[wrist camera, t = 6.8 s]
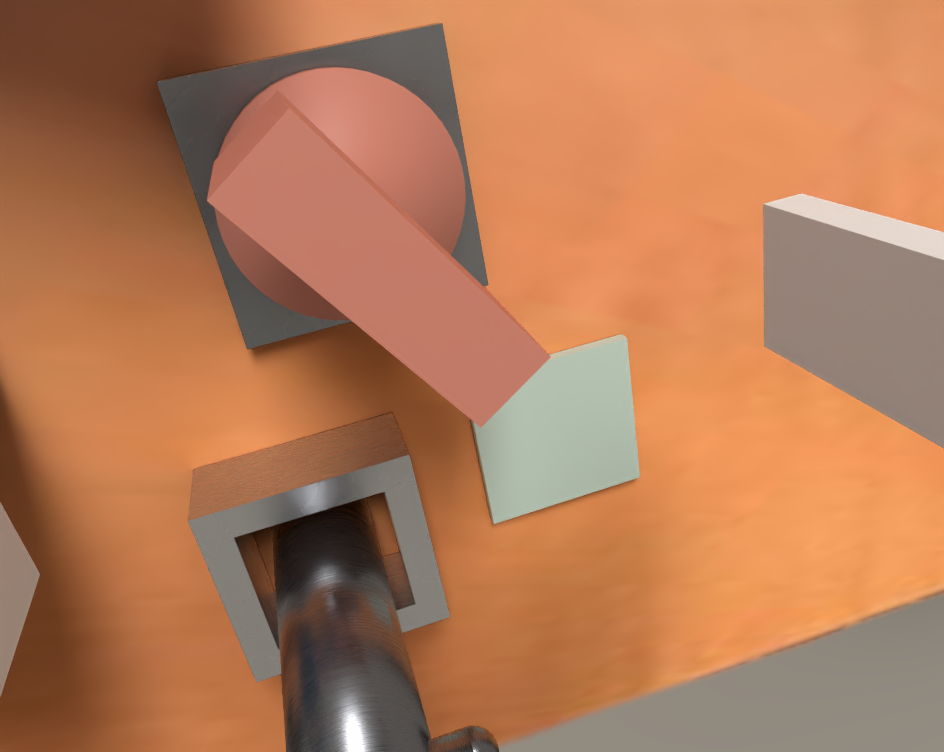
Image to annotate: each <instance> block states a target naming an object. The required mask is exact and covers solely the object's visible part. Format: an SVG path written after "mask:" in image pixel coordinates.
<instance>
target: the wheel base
mask: <svg viewBox="0 0 944 752" xmlns="http://www.w3.org/2000/svg"><path fill="white" fill-rule="evenodd" d="M324 67H343V68H353V69H358V70H363V71H367V72H370V73H373V74H376V75H379V76H382V77H384V78H387V79H390V80H392V81H393V82H395V83H397V84H399V85H401V86H403V87H405V88H406V89H408V90H409V91H410V92H412V93H413V94H415V95H416V96H417V97H419V98H420V99H421V100H422V101H423V102H424V103H425V104H426V105H427V106H428V107H429V108H430V109H431V110H432V111H433V112H434V113H435V115H436V116H437V117H438V118H439V119H440V121H441V122H442V123H443V125H444V127H445V128H446V130H447V131H448V133H449V135H450V136H451V138H452V141H453V143H454V145H455V147H456V149H457V152H458V155H459V158H460V162H461V165H462V169H463V175H464V180H465V196H466V200H465V213H464V218H463V223H462V228H461V231H460V234H459V237H458V240H457V243H456V245H455V248H454V250H453V252H452V254H451V256H452V257H453V258H454V259H455V260H456V261H457V262H458V263H459V264H460V265H461V266H463V267H464V268H465V269H466V270H467V271H468V272H469V273H470V274H471V275H472V276H473V277H474V278H475V279H476V280H477V281H478V282H479V283H480V284H481V285H482V286H487V285H488V280H487V275H486V269H485V263H484V258H483V252H482V246H481V240H480V235H479V229H478V223H477V218H476V212H475V206H474V201H473V195H472V189H471V184H470V178H469V172H468V167H467V161H466V155H465V150H464V144H463V138H462V133H461V127H460V121H459V116H458V110H457V104H456V99H455V93H454V87H453V82H452V76H451V70H450V65H449V59H448V53H447V48H446V42H445V36H444V31H443V25H442V23H436V24H430V25H426V26H421V27H416V28H411V29H406V30H401V31H396V32H391V33H387V34H382V35H377V36H372V37H367V38H362V39H357V40H352V41H348V42H343V43H338V44H333V45H328V46H323V47H318V48H313V49H309V50H304V51H299V52H294V53H289V54H284V55H279V56H274V57H270V58H265V59H260V60H255V61H250V62H245V63H240V64H236V65H231V66H226V67H221V68H216V69H211V70H206V71H201V72H197V73H192V74H187V75H182V76H177V77H172V78H167V79H162V80H159V81H157V85H158V88H159V91H160V94H161V97H162V100H163V103H164V105H165V108H166V111H167V114H168V117H169V120H170V123H171V126H172V129H173V132H174V135H175V138H176V141H177V144H178V147H179V150H180V153H181V156H182V159H183V161H184V164H185V167H186V170H187V173H188V176H189V179H190V182H191V185H192V188H193V191H194V194H195V197H196V200H197V203H198V206H199V209H200V212H201V215H202V217H203V220H204V223H205V226H206V229H207V232H208V235H209V238H210V241H211V244H212V247H213V250H214V253H215V256H216V259H217V262H218V265H219V268H220V270H221V273H222V276H223V279H224V282H225V285H226V288H227V291H228V294H229V297H230V300H231V303H232V306H233V309H234V312H235V315H236V318H237V321H238V324H239V326H240V329H241V332H242V335H243V338H244V341H245V344H246V347H247V349H250V348H254V347H258V346H261V345H265V344H269V343H273V342H276V341H280V340H284V339H288V338H291V337H295V336H299V335H303V334H306V333H310V332H314V331H318V330H321V329H325V328H329V327H333V326H336V325H340V324H344V323H348V322H351V320H327V319H319V318H315V317H310V316H306V315H303V314H300V313H298V312H295V311H292V310H290V309H288V308H286V307H284V306H282V305H280V304H278V303H276V302H275V301H273V300H272V299H270V298H269V297H267V296H266V295H265V294H263V293H262V292H261V291H260V290H258V289H257V288H256V287H255V286H254V285H253V284H252V283H251V282H250V281H249V280H248V279H247V278H246V277H245V275H244V274H243V273H242V272H241V271H240V270H239V268H238V267H237V265H236V264H235V262H234V261H233V259H232V258H231V256H230V254H229V252H228V250H227V248H226V246H225V244H224V242H223V239H222V236H221V233H220V230H219V227H218V224H217V219H216V214H215V208H214V206H212V205H211V204H210V203H209V202H208V201H207V197H208V191H209V186H210V180H211V175H212V170H213V164H214V161H215V160H216V159H217V158H218V156H219V152H220V149H221V146H222V144H223V141H224V139H225V136H226V134H227V132H228V130H229V129H230V127H231V125H232V123H233V121H234V120H235V119H236V117H237V116H238V115H239V113H240V112H241V111H242V109H243V108H244V107H245V106H246V105H247V104H248V103H249V102H250V101H251V100H252V99H253V98H254V97H255V96H256V95H257V94H259V93H260V92H261V91H263V90H264V89H266V88H267V87H268V86H270V85H271V84H273V83H275V82H277V81H279V80H281V79H283V78H284V77H287V76H290V75H292V74H295V73H298V72H301V71H305V70H310V69H315V68H324Z"/></svg>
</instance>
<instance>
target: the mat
mask: <svg viewBox="0 0 944 752" xmlns="http://www.w3.org/2000/svg"><path fill="white" fill-rule="evenodd" d="M550 356H551V357H550V359H549V360H548V361H547V362H546V363H545V364H544V365H543V366H542V367H541V368H540V369H539V370H538V371H537V372H536V373H535V374H534V375H533V376H532V377H531V378H530V379H529V380H528V381H527V382H526V383H525V384H524V385H523V386H522V387H521V388H520V389H519V390H518V391H517V392H516V393H515V394H514V395H513V396H512V397H511V398H510V399H509V400H508V401H507V402H506V403H505V404H504V405H503V406H502V407H501V408H500V409H499V410H498V411H497V412H496V413H495V414H494V415H493V416H492V417H491V418H490V419H489V420H488V421H487V422H486V423H485V424H484V425H483V426H482V427H479V426H478V425H477V424H476V423H474V422H473V421H472V420H471V424H472V429H473V434H474V439H475V443H476V448H477V453H478V458H479V463H480V468H481V473H482V478H483V483H484V487H485V492H486V497H487V502H488V507H489V512H490V517H491V519H492V521H493V523H494V524H496V523H499V522H502V521H505V520H508V519H511V518H514V517H518V516H521V515H524V514H527V513H530V512H533V511H536V510H539V509H543V508H546V507H549V506H552V505H555V504H558V503H561V502H564V501H567V500H571V499H574V498H577V497H580V496H583V495H586V494H589V493H592V492H596V491H599V490H602V489H605V488H608V487H611V486H614V485H617V484H621V483H624V482H627V481H630V480H633V479H636V478H639V477H640V473H639V462H638V451H637V441H636V430H635V419H634V409H633V398H632V387H631V377H630V366H629V355H628V345H627V338H626V337H625V336H624V335H622V334H620V335H616V336H613V337H609V338H606V339H602V340H599V341H595V342H592V343H588V344H585V345H581V346H578V347H574V348H571V349H567V350H564V351H560V352H557V353H553V354H550Z"/></svg>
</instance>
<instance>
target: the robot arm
mask: <svg viewBox="0 0 944 752" xmlns="http://www.w3.org/2000/svg"><path fill="white" fill-rule="evenodd" d="M763 234H764V346H765V347H767V348H768V349H770V350H772V351H774V352H775V353H777V354H779V355H781V356H782V357H784V358H786V359H788V360H789V361H791V362H793V363H795V364H796V365H798V366H800V367H802V368H804V369H805V370H807V371H809V372H811V373H812V374H814V375H816V376H818V377H819V378H821V379H823V380H825V381H826V382H828V383H830V384H832V385H833V386H835V387H837V388H839V389H840V390H842V391H844V392H846V393H847V394H849V395H851V396H853V397H855V398H856V399H858V400H860V401H862V402H863V403H865V404H867V405H869V406H870V407H872V408H874V409H876V410H877V411H879V412H881V413H883V414H884V415H886V416H888V417H890V418H891V419H893V420H895V421H897V422H898V423H900V424H902V425H904V426H906V427H907V428H909V429H911V430H913V431H914V432H916V433H918V434H920V435H921V436H923V437H925V438H927V439H928V440H930V441H932V442H934V443H935V444H937V445H939V446H941V447H942V448H944V232H941V231H937V230H933V229H930V228H926V227H922V226H919V225H915V224H911V223H908V222H904V221H900V220H897V219H893V218H889V217H886V216H882V215H878V214H875V213H871V212H867V211H864V210H860V209H856V208H853V207H849V206H845V205H841V204H838V203H834V202H830V201H827V200H823V199H819V198H816V197H812V196H808V195H805V194H798V195H794V196H791V197H787V198H783V199H780V200H776V201H772V202H769V203H765V204H763ZM39 576H40V573H39V571H38V569H37V568H36V566H35V564H34V562H33V560H32V559H31V557H30V555H29V553H28V551H27V550H26V548H25V546H24V544H23V542H22V541H21V539H20V537H19V535H18V533H17V531H16V530H15V528H14V526H13V524H12V522H11V521H10V519H9V517H8V515H7V513H6V512H5V510H4V508H3V506H2V504H1V503H0V697H1V694H2V690H3V687H4V684H5V681H6V678H7V675H8V672H9V669H10V666H11V663H12V660H13V657H14V653H15V650H16V647H17V644H18V641H19V638H20V635H21V632H22V629H23V626H24V623H25V620H26V616H27V613H28V610H29V607H30V604H31V601H32V598H33V595H34V592H35V589H36V586H37V583H38V579H39Z"/></svg>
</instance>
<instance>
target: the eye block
mask: <svg viewBox="0 0 944 752" xmlns="http://www.w3.org/2000/svg"><path fill="white" fill-rule="evenodd" d="M382 492H383V494H384V497H385V501H386V505H387V508H388V512H389V515H390V519H391V523H392V526H393V530H394V534H395V537H396V541H397V544H398V548H399V552H397V553H394V554H391V555H387V556H384V557H382V559H383V563H384V567H385V570H386V574H387V578H388V582H389V585H390V589H391V593H392V596H393V600H394V604H395V607H396V611H397V615H398V619H399V622H400V626H401V630H402V633H404V632H407V631H410V630H413V629H416V628H419V627H422V626H424V625H427V624H430V623H433V622H436V621H439V620H442V619H445V618H448V617H450V614H449V610H448V606H447V602H446V598H445V594H444V590H443V586H442V582H441V578H440V574H439V570H438V566H437V562H436V558H435V554H434V550H433V547H432V543H431V539H430V535H429V531H428V527H427V523H426V519H425V515H424V511H423V507H422V503H421V499H420V495H419V491H418V487H417V483H416V479H415V475H414V471H413V467H412V463H411V459H410V455H409V452H408V450H407V448H406V445H405V443H404V440H403V438H402V435H401V433H400V430H399V428H398V425H397V423H396V420H395V418H394V415H393V413H388V414H385V415H381V416H378V417H374V418H371V419H367V420H364V421H360V422H357V423H353V424H350V425H347V426H343V427H340V428H336V429H333V430H329V431H326V432H322V433H319V434H315V435H312V436H308V437H305V438H302V439H298V440H295V441H291V442H288V443H284V444H281V445H277V446H274V447H270V448H267V449H263V450H260V451H257V452H253V453H250V454H246V455H243V456H239V457H236V458H232V459H229V460H225V461H222V462H218V463H215V464H211V465H208V466H205V467H201V468H198V469H194V470H193V477H192V487H191V497H190V507H189V516H188V522H189V524H190V527H191V529H192V531H193V534H194V536H195V538H196V541H197V543H198V546H199V548H200V550H201V553H202V555H203V557H204V560H205V562H206V564H207V567H208V569H209V571H210V574H211V576H212V579H213V581H214V583H215V586H216V588H217V590H218V593H219V595H220V597H221V600H222V602H223V604H224V607H225V609H226V611H227V614H228V616H229V619H230V621H231V623H232V626H233V628H234V630H235V633H236V635H237V637H238V640H239V642H240V644H241V647H242V649H243V652H244V654H245V656H246V659H247V661H248V663H249V666H250V668H251V670H252V673H253V675H254V677H255V680H256V682H259V681H262V680H265V679H268V678H271V677H274V676H277V675H280V674H281V663H280V648H279V633H278V618H277V602H276V591H274V589H273V586H272V584H271V581H270V578H269V576H268V573H267V571H266V568H265V565H264V563H263V560H262V557H261V555H260V552H259V550H258V547H257V544H256V542H255V539H254V536H253V534H252V532H254V531H257V530H261V529H264V528H267V527H270V526H274V525H277V524H280V523H283V522H287V521H290V520H293V519H297V518H300V517H303V516H306V515H310V514H313V513H316V512H319V511H323V510H326V509H329V508H332V507H336V506H339V505H342V504H346V503H349V502H352V501H355V500H359V499H362V498H365V497H368V496H372V495H375V494H378V493H382Z"/></svg>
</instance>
